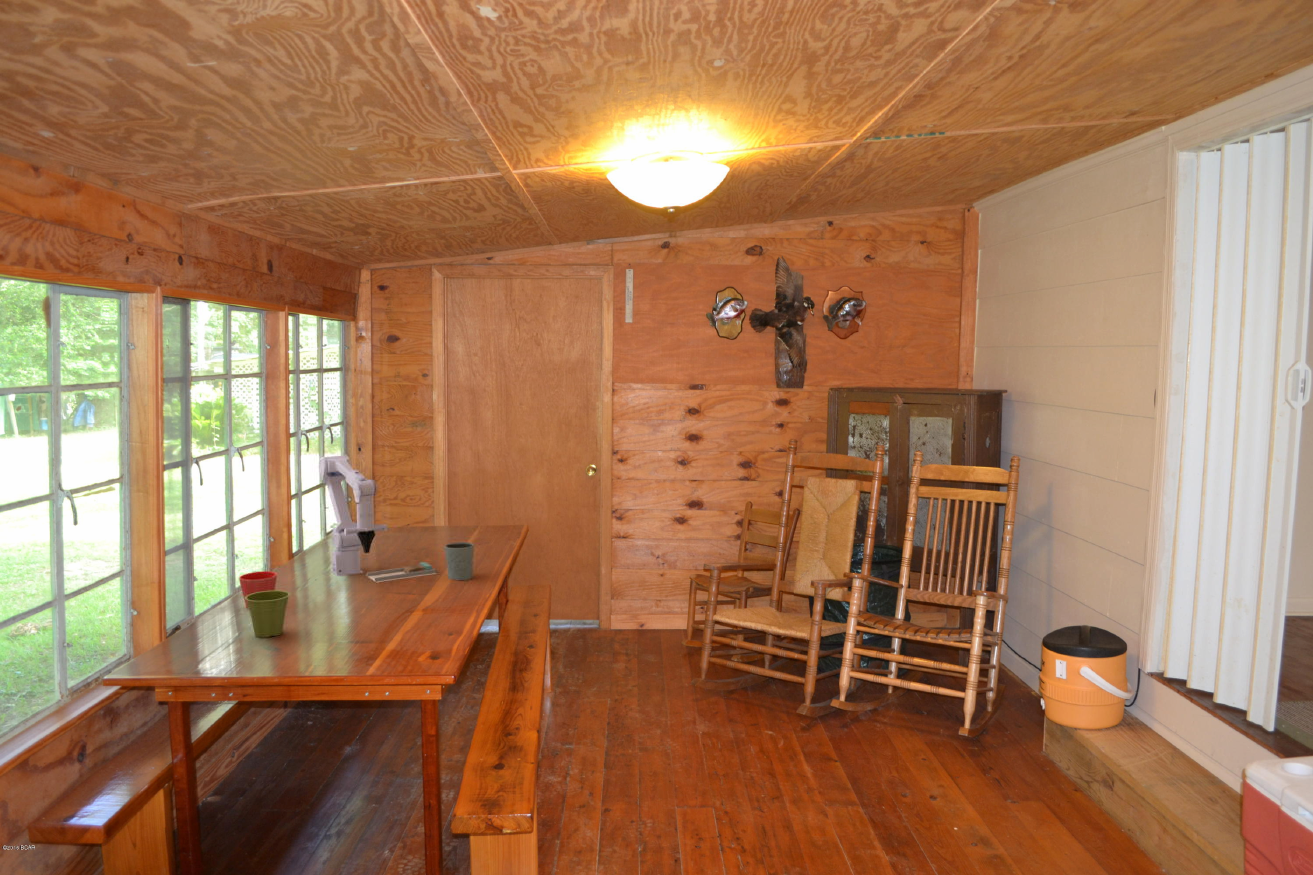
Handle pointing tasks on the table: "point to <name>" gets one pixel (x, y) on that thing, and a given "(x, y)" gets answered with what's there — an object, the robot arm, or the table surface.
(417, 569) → the block
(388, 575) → the track
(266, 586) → the flower pot
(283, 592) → the plant pot
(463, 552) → the grey tapered pot
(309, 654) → the table surface
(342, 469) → the robot arm
